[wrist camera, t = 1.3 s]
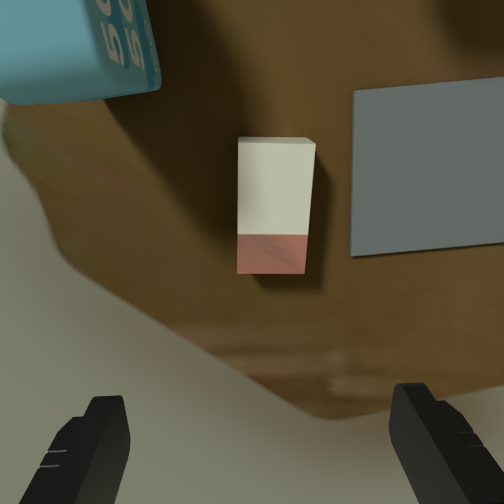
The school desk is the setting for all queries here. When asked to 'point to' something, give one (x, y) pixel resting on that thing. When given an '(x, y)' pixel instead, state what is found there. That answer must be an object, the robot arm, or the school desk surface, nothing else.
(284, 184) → the white rectangular block
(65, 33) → the data package
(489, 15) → the school desk surface
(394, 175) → the mat
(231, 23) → the school desk surface
